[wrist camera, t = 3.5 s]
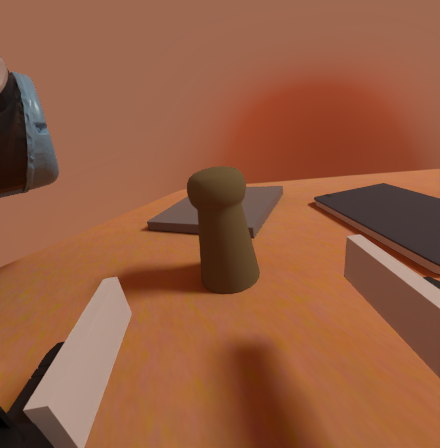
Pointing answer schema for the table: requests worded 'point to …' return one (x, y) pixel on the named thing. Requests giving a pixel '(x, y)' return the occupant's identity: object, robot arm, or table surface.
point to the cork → (223, 230)
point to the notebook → (392, 219)
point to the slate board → (188, 216)
